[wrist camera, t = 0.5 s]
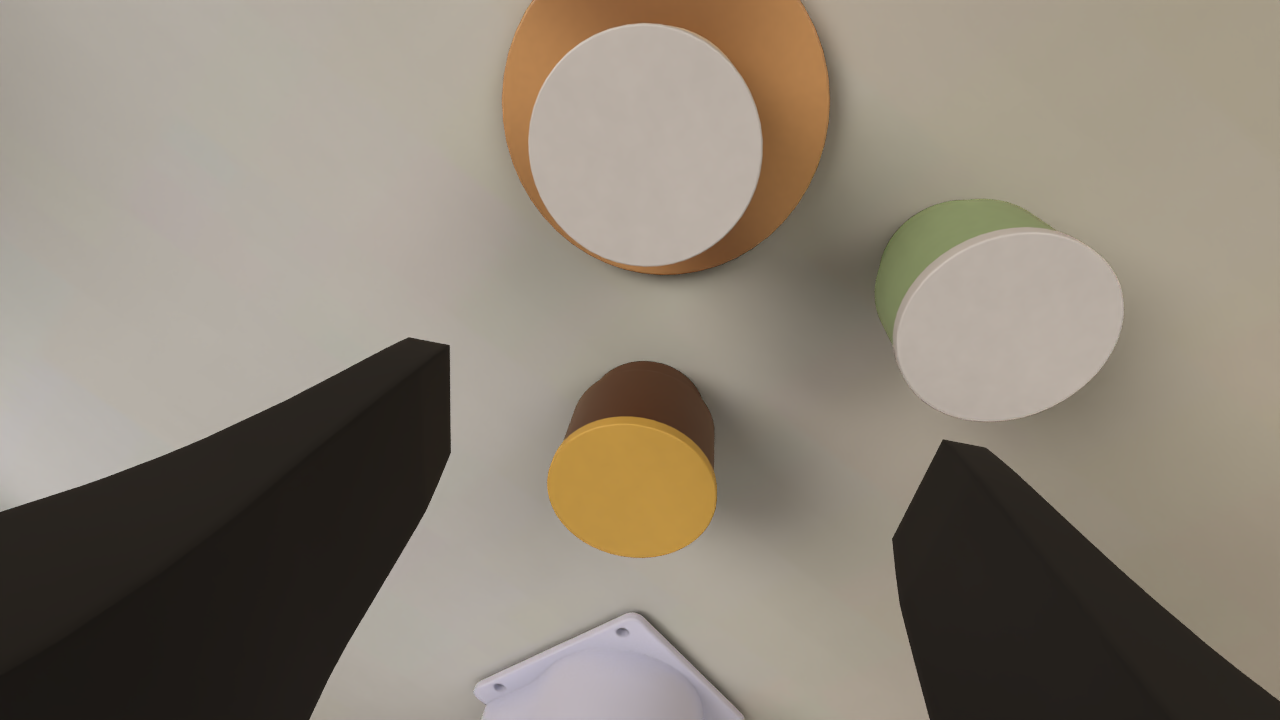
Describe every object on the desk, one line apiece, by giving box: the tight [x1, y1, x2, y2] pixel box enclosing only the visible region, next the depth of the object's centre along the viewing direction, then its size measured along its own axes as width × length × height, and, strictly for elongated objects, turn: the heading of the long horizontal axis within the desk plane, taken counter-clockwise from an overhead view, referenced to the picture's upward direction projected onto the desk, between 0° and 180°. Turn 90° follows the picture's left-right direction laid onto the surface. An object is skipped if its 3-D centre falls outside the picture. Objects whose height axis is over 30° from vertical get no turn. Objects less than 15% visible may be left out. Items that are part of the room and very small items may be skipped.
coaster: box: [502, 0, 830, 275], centre depth 17 cm, size 8×8×1 cm
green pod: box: [875, 199, 1124, 422], centre depth 17 cm, size 5×5×4 cm
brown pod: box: [547, 361, 717, 558], centre depth 20 cm, size 5×5×4 cm
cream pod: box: [528, 23, 763, 267], centre depth 15 cm, size 5×5×4 cm
